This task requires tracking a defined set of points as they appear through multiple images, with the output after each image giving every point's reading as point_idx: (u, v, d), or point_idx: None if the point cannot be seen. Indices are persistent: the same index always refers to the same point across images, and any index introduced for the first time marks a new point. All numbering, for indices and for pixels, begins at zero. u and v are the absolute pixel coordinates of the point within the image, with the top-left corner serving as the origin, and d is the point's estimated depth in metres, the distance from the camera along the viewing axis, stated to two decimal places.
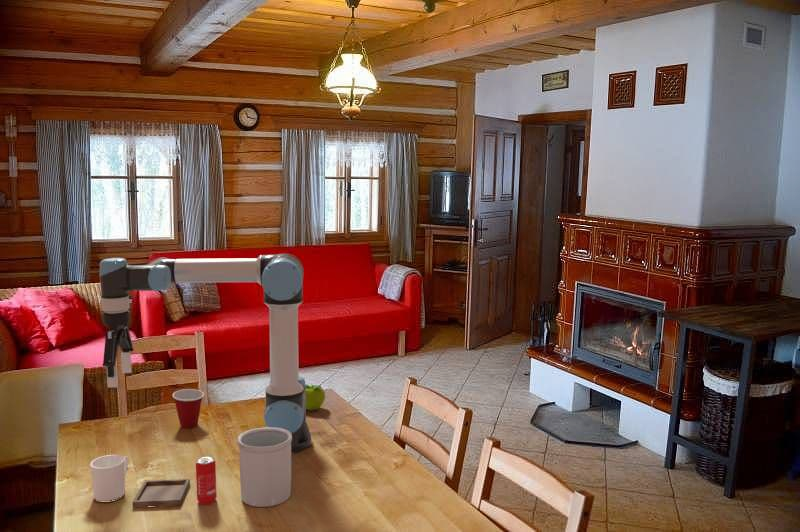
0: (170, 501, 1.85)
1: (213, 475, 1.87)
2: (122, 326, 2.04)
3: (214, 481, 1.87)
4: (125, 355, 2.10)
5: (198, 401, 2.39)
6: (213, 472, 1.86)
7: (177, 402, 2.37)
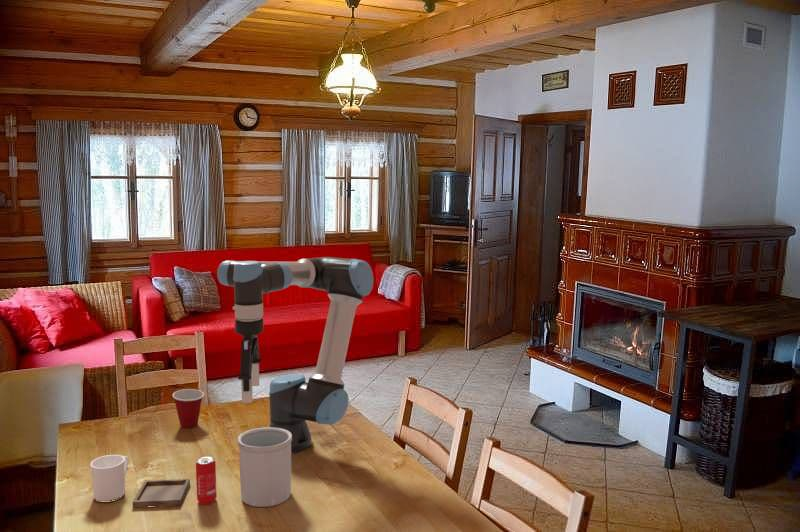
0: (170, 501, 1.85)
1: (213, 475, 1.87)
2: (254, 335, 1.87)
3: (214, 481, 1.87)
4: (253, 366, 1.94)
5: (198, 401, 2.39)
6: (213, 472, 1.86)
7: (177, 402, 2.37)
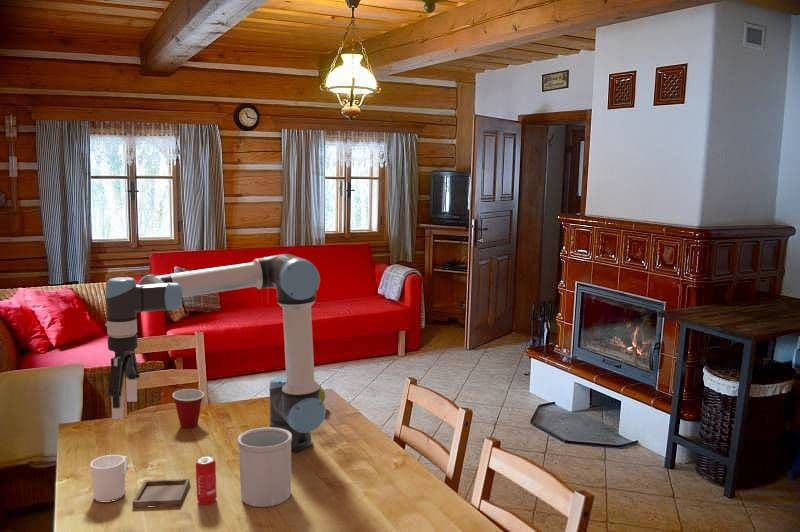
0: (170, 501, 1.85)
1: (213, 475, 1.87)
2: (129, 351, 1.87)
3: (214, 481, 1.87)
4: (130, 382, 1.93)
5: (198, 401, 2.39)
6: (213, 472, 1.86)
7: (177, 402, 2.37)
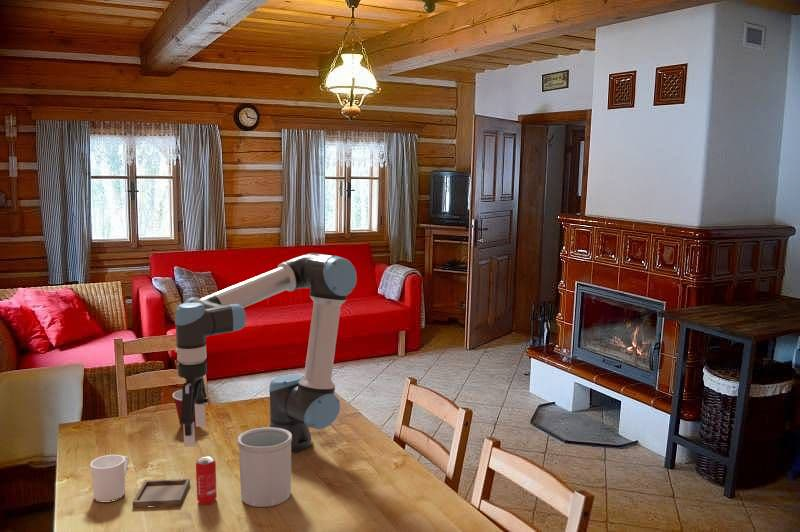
0: (170, 501, 1.85)
1: (213, 475, 1.87)
2: (198, 377, 1.86)
3: (214, 481, 1.87)
4: (199, 407, 1.92)
5: None
6: (213, 472, 1.86)
7: (177, 402, 2.37)
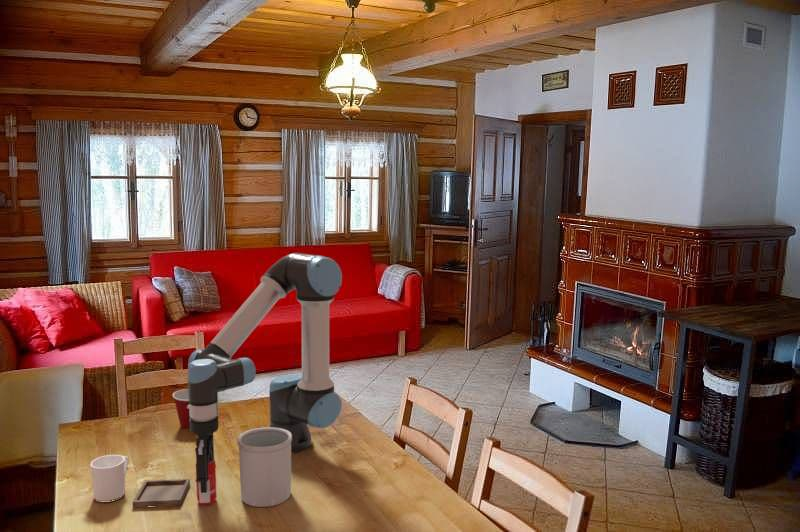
0: (170, 501, 1.85)
1: (213, 475, 1.87)
2: None
3: (214, 481, 1.87)
4: None
5: None
6: (213, 472, 1.86)
7: (177, 402, 2.37)
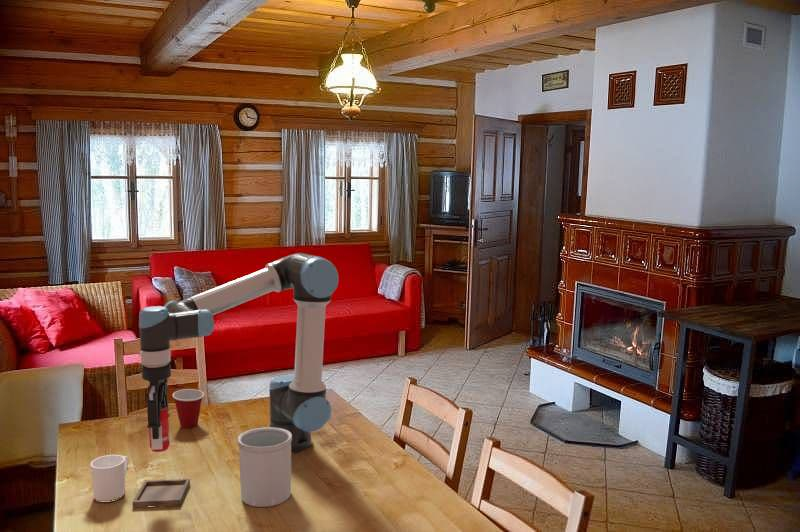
0: (170, 501, 1.85)
1: (165, 422, 1.87)
2: None
3: (166, 428, 1.88)
4: None
5: (198, 401, 2.39)
6: (165, 419, 1.87)
7: (177, 402, 2.37)
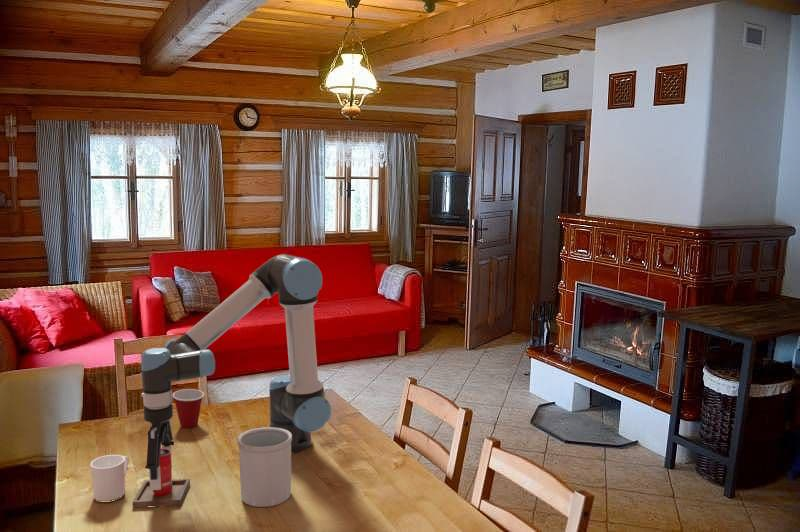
0: (170, 501, 1.85)
1: (168, 467, 1.89)
2: None
3: (169, 473, 1.90)
4: None
5: (198, 401, 2.39)
6: (168, 464, 1.89)
7: (177, 402, 2.37)
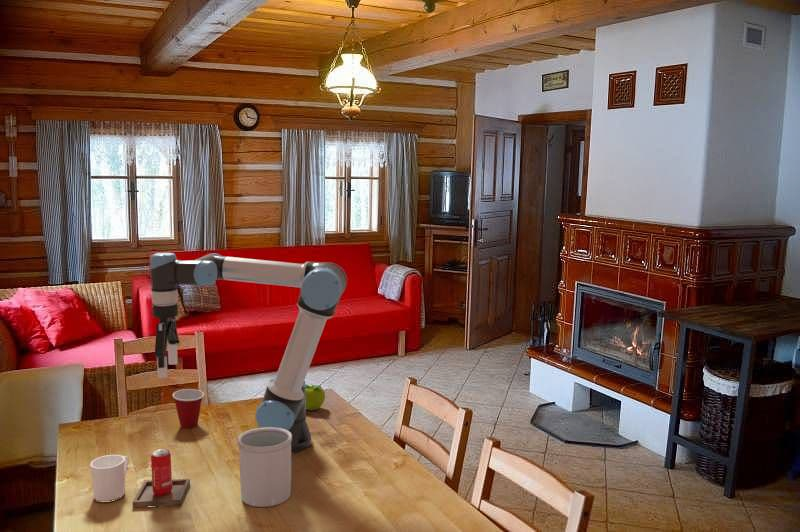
0: (170, 501, 1.85)
1: (168, 467, 1.89)
2: (170, 319, 2.11)
3: (169, 473, 1.90)
4: (171, 347, 2.17)
5: (198, 401, 2.39)
6: (168, 464, 1.89)
7: (177, 402, 2.37)
